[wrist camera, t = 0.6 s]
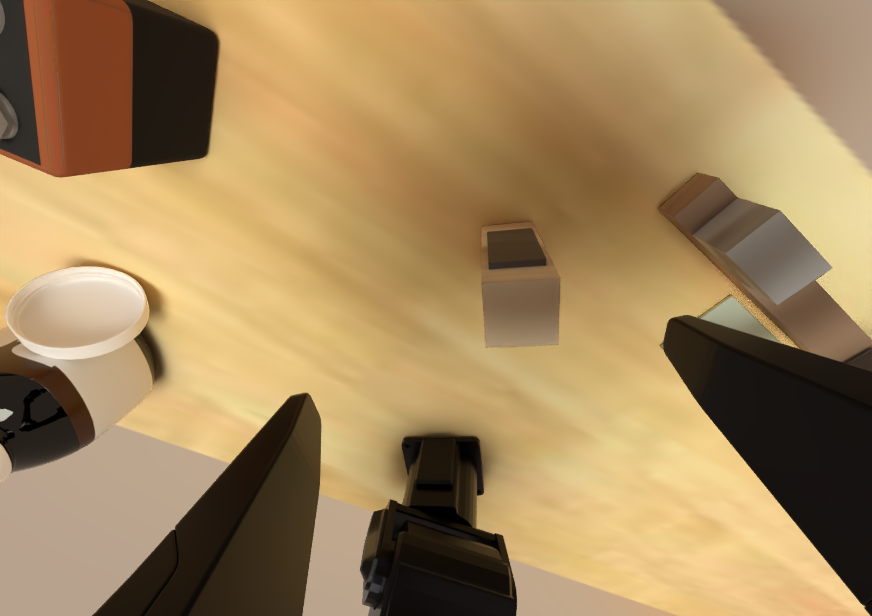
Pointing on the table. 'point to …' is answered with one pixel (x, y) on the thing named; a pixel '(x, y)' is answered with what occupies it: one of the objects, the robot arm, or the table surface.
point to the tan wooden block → (518, 287)
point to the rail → (794, 311)
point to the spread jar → (70, 363)
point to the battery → (102, 85)
